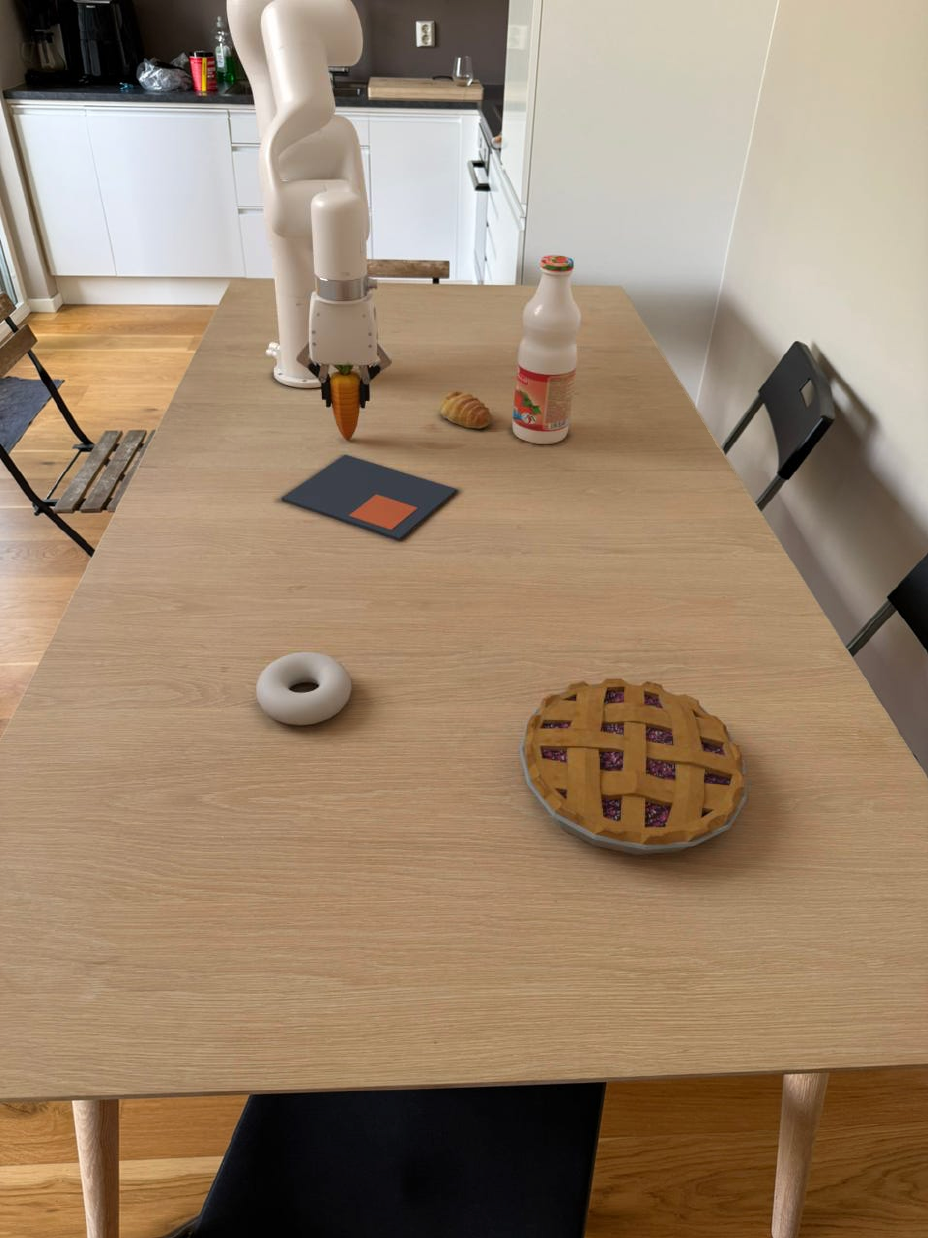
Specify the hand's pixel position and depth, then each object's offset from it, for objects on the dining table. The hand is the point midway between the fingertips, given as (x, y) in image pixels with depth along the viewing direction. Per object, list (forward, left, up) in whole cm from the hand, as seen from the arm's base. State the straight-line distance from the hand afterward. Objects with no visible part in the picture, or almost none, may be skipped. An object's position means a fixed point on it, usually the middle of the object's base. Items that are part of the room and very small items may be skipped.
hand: (346, 403), depth 140 cm
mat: (+13, -13, -6) cm, 19 cm away
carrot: (0, 0, -7) cm, 7 cm away
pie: (+65, -46, -7) cm, 80 cm away
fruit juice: (+25, +20, -7) cm, 33 cm away
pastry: (+12, +18, -7) cm, 23 cm away
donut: (+31, -53, -7) cm, 62 cm away
